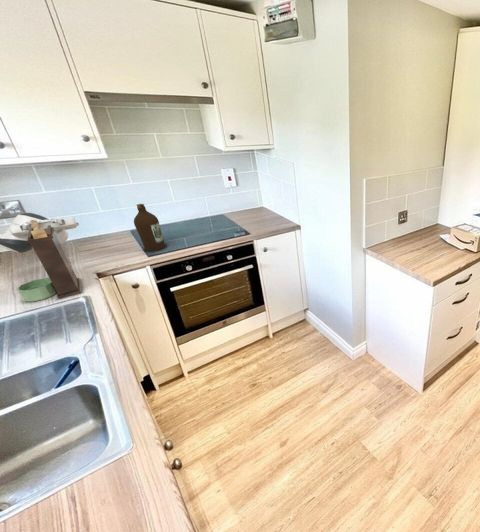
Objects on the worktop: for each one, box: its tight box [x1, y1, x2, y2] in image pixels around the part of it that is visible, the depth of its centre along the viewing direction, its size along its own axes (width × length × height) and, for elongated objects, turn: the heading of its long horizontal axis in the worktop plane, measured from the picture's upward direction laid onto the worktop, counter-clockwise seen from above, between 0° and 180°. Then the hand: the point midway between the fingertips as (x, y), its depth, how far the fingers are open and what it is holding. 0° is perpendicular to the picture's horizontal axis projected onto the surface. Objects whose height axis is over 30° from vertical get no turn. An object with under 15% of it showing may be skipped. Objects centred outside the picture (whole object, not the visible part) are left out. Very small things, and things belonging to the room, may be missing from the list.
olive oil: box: [133, 203, 167, 252], centre depth 173 cm, size 11×11×25 cm
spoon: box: [30, 220, 48, 239], centre depth 130 cm, size 4×23×2 cm, turn 50°
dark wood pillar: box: [27, 225, 82, 300], centre depth 133 cm, size 7×15×27 cm, turn 43°
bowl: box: [16, 277, 58, 302], centre depth 133 cm, size 10×10×6 cm
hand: (40, 222), depth 135 cm, fingers open, 7 cm apart
